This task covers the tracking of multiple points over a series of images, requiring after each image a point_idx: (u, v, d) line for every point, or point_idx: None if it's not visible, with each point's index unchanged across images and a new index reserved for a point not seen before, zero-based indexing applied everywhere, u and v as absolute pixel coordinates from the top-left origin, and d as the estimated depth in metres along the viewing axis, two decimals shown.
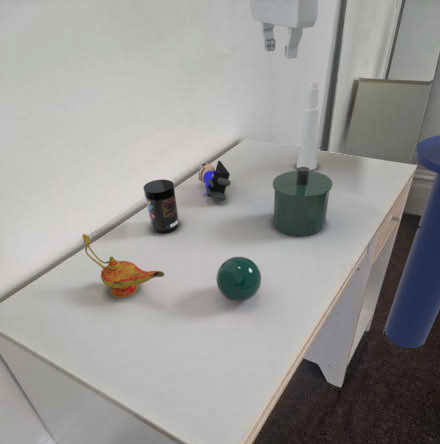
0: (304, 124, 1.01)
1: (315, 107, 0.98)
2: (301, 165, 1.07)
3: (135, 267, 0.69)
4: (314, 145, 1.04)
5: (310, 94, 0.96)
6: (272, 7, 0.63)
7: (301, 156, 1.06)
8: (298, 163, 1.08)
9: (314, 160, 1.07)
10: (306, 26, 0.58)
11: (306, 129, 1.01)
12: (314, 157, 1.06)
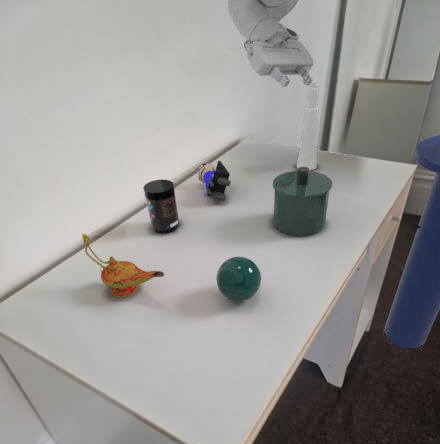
0: (304, 124, 1.01)
1: (315, 107, 0.98)
2: (301, 165, 1.07)
3: (135, 267, 0.69)
4: (314, 145, 1.04)
5: (310, 94, 0.96)
6: None
7: (301, 156, 1.06)
8: (298, 163, 1.08)
9: (314, 160, 1.07)
10: (262, 69, 0.88)
11: (306, 129, 1.01)
12: (314, 157, 1.06)
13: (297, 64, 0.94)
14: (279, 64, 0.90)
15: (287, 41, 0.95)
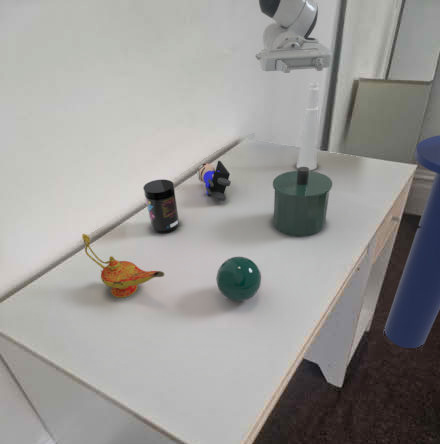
0: (304, 124, 1.01)
1: (315, 107, 0.98)
2: (301, 165, 1.07)
3: (135, 267, 0.69)
4: (314, 145, 1.04)
5: (310, 94, 0.96)
6: None
7: (301, 156, 1.06)
8: (298, 163, 1.08)
9: (314, 160, 1.07)
10: (265, 64, 1.02)
11: (306, 129, 1.01)
12: (314, 157, 1.06)
13: (307, 56, 1.02)
14: (282, 57, 1.01)
15: (302, 45, 1.06)
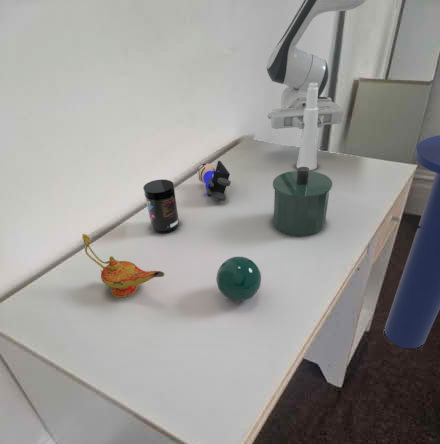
0: (304, 124, 1.01)
1: (314, 107, 0.98)
2: (301, 165, 1.07)
3: (135, 267, 0.69)
4: (314, 145, 1.04)
5: (310, 94, 0.96)
6: None
7: (301, 156, 1.06)
8: (298, 163, 1.08)
9: (314, 160, 1.06)
10: (273, 122, 1.05)
11: (306, 129, 1.01)
12: (314, 157, 1.06)
13: None
14: (291, 115, 1.04)
15: None
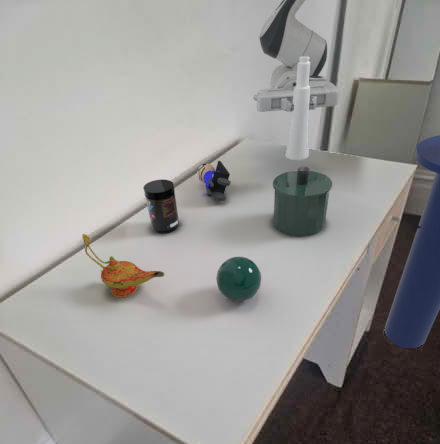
0: None
1: (306, 85, 0.84)
2: (290, 154, 0.94)
3: (135, 267, 0.69)
4: (305, 130, 0.90)
5: (300, 69, 0.82)
6: None
7: (291, 143, 0.93)
8: (287, 151, 0.95)
9: (305, 148, 0.93)
10: (259, 104, 0.91)
11: (296, 111, 0.88)
12: (305, 144, 0.92)
13: None
14: (279, 96, 0.90)
15: None
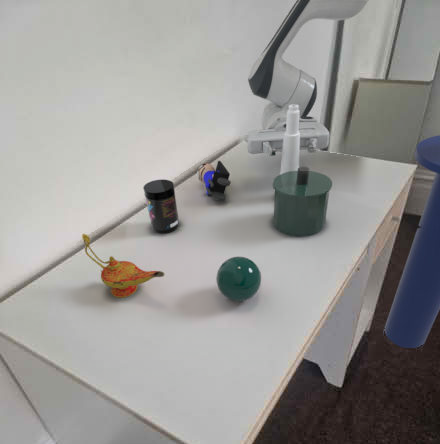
0: (283, 151, 0.87)
1: (295, 132, 0.84)
2: None
3: (135, 267, 0.69)
4: None
5: (289, 117, 0.82)
6: None
7: None
8: None
9: None
10: (250, 146, 0.91)
11: (286, 157, 0.88)
12: None
13: None
14: (270, 139, 0.90)
15: None
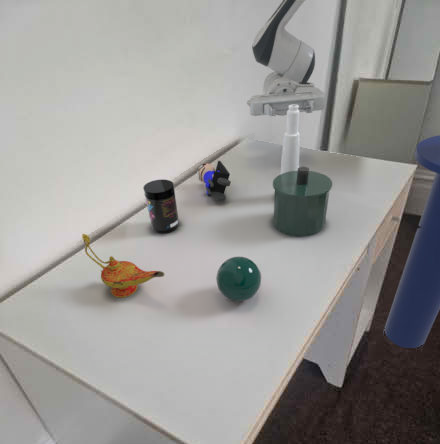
0: (283, 151, 0.87)
1: (295, 132, 0.84)
2: None
3: (135, 267, 0.69)
4: None
5: (289, 117, 0.82)
6: None
7: None
8: None
9: None
10: (252, 108, 0.99)
11: (286, 157, 0.88)
12: None
13: (297, 99, 0.98)
14: (270, 101, 0.98)
15: (295, 89, 1.02)
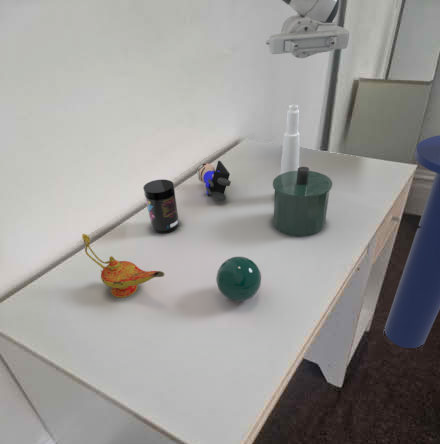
0: (283, 151, 0.87)
1: (295, 132, 0.84)
2: None
3: (135, 267, 0.69)
4: None
5: (289, 117, 0.82)
6: None
7: None
8: None
9: None
10: (272, 45, 0.95)
11: (286, 157, 0.88)
12: None
13: (320, 35, 0.93)
14: (291, 38, 0.94)
15: (317, 28, 0.98)
